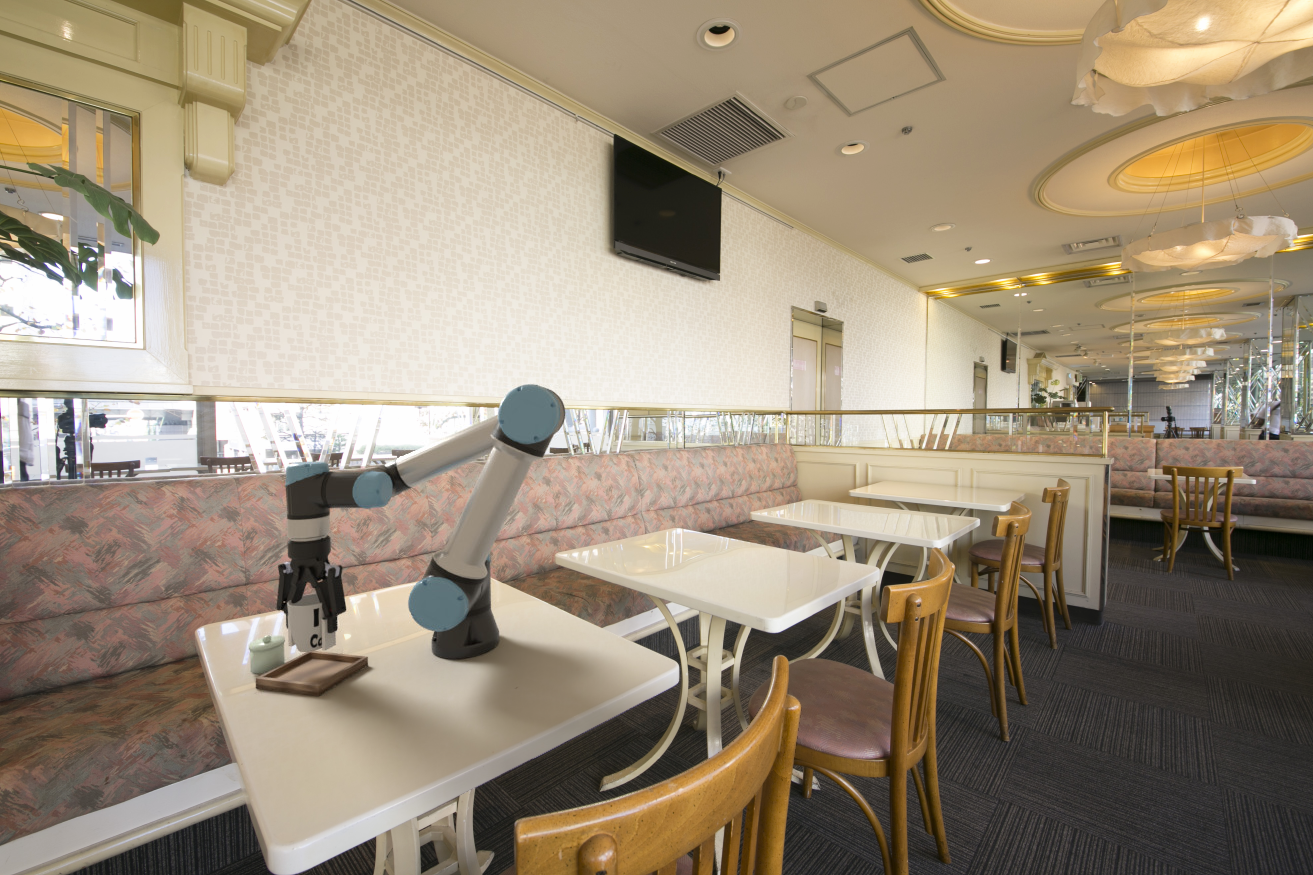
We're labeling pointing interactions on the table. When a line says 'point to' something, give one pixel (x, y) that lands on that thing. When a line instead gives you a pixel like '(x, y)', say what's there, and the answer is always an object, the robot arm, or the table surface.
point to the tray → (312, 673)
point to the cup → (306, 622)
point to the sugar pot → (266, 654)
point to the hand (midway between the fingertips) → (312, 645)
